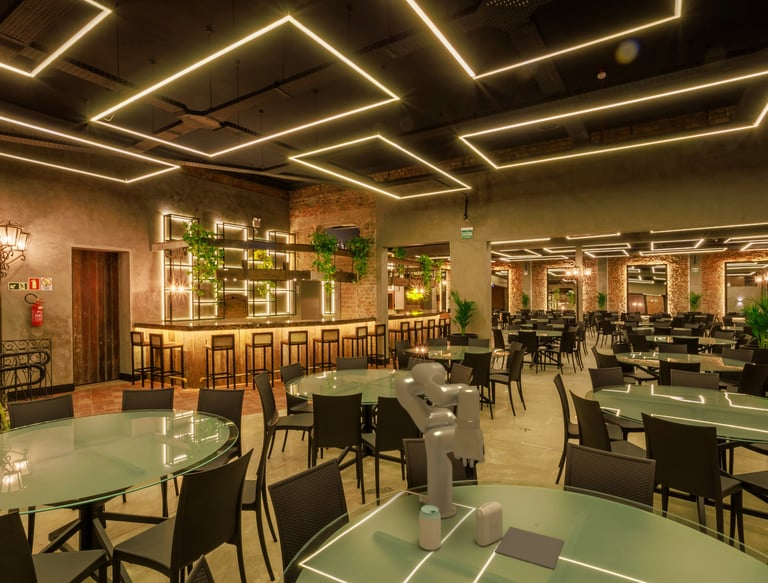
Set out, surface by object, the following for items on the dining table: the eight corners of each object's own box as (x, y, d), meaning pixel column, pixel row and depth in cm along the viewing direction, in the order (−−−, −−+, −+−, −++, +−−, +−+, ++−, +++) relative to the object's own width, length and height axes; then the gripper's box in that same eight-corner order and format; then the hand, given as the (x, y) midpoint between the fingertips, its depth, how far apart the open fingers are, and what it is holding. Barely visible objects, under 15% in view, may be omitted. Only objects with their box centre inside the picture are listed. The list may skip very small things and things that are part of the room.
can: (442, 542, 145) (442, 505, 146) (438, 553, 139) (438, 515, 139) (422, 538, 148) (422, 502, 148) (417, 549, 141) (416, 512, 141)
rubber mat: (494, 552, 139) (494, 551, 139) (509, 527, 154) (509, 526, 154) (554, 569, 130) (554, 568, 130) (563, 541, 145) (563, 540, 145)
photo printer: (494, 533, 151) (494, 497, 151) (504, 538, 147) (504, 501, 148) (473, 542, 145) (473, 505, 145) (483, 548, 141) (483, 510, 142)
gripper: (444, 423, 151) (445, 477, 151) (486, 429, 144) (487, 485, 143) (452, 418, 158) (453, 470, 157) (493, 424, 150) (494, 478, 149)
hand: (469, 477), depth 150 cm, fingers closed
